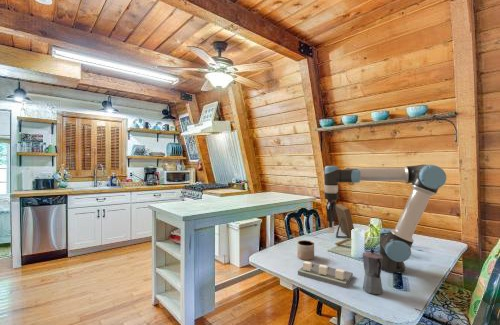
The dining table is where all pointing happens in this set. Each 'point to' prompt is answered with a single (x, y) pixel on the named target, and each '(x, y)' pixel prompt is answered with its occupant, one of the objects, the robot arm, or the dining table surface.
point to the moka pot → (372, 272)
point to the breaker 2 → (339, 274)
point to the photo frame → (344, 220)
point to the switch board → (326, 276)
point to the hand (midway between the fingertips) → (331, 232)
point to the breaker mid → (323, 269)
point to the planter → (305, 250)
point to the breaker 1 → (307, 266)
